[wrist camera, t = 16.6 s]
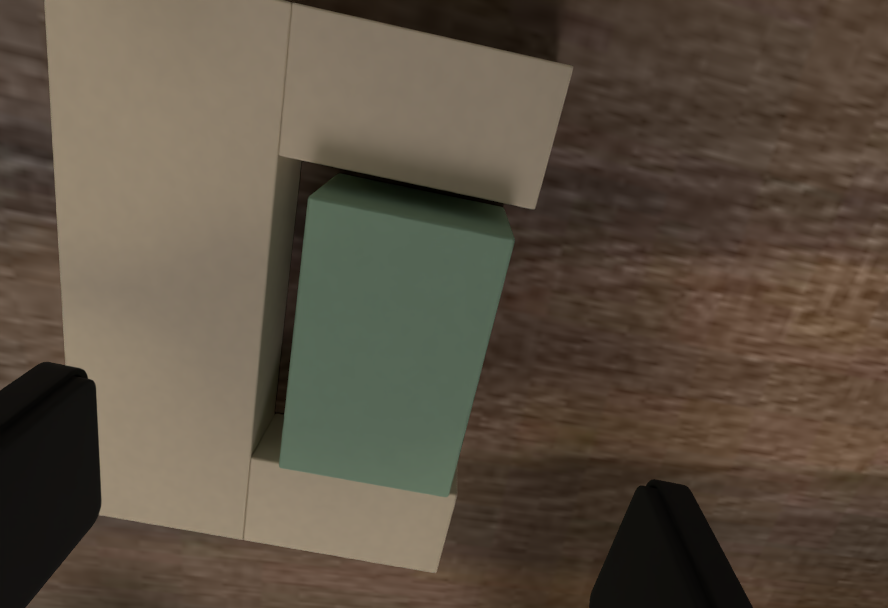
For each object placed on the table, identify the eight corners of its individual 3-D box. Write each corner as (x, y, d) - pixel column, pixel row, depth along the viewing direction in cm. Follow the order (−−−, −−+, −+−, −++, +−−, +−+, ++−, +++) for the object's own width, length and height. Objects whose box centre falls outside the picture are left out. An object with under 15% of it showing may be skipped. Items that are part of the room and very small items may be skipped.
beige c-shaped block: (106, -34, 14) (39, -56, 12) (556, 68, 15) (574, 66, 13) (116, 462, 20) (72, 511, 18) (438, 519, 21) (436, 574, 19)
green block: (337, 172, 16) (307, 195, 13) (505, 206, 16) (515, 237, 13) (308, 402, 19) (277, 468, 16) (450, 429, 19) (448, 499, 16)
